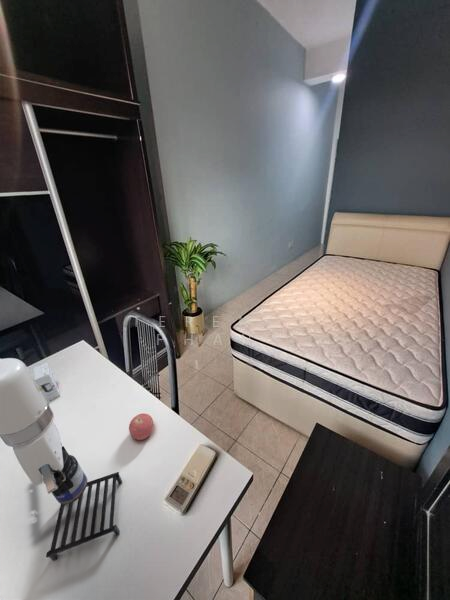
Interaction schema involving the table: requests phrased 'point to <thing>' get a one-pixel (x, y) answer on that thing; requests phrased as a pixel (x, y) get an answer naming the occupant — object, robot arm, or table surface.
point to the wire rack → (86, 517)
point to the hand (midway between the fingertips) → (63, 475)
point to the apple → (141, 426)
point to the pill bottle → (75, 475)
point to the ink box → (46, 382)
